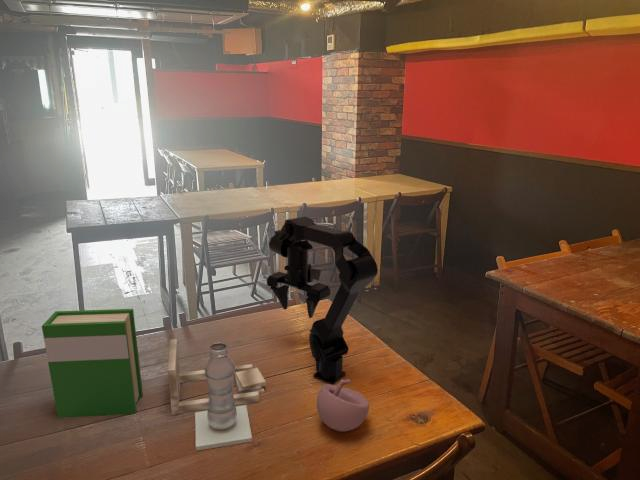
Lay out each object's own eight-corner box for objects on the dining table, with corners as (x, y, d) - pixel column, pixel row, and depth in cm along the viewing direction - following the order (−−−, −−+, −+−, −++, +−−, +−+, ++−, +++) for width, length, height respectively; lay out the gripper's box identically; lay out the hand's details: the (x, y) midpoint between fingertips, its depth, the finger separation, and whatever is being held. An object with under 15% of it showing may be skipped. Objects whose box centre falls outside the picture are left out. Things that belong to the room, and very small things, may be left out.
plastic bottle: (214, 413, 115) (209, 337, 109) (241, 417, 114) (238, 341, 108) (202, 431, 109) (197, 352, 103) (231, 436, 108) (227, 356, 102)
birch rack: (252, 369, 135) (250, 330, 132) (259, 402, 121) (257, 359, 118) (174, 379, 130) (170, 339, 127) (171, 414, 116) (167, 370, 113)
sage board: (246, 408, 119) (246, 405, 119) (252, 441, 108) (251, 437, 108) (195, 415, 116) (195, 412, 116) (196, 450, 105) (195, 446, 105)
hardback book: (143, 395, 124) (133, 308, 116) (135, 413, 117) (124, 322, 109) (70, 398, 122) (55, 311, 115) (58, 418, 115) (41, 326, 108)
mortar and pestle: (378, 425, 113) (381, 383, 110) (343, 451, 105) (344, 405, 102) (341, 402, 121) (342, 362, 118) (305, 424, 113) (305, 381, 110)
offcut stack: (261, 376, 133) (260, 366, 132) (266, 393, 126) (266, 383, 125) (235, 380, 131) (234, 370, 130) (239, 397, 124) (238, 387, 123)
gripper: (341, 261, 136) (340, 312, 141) (289, 248, 147) (290, 296, 151) (318, 272, 128) (317, 326, 132) (264, 258, 138) (266, 308, 143)
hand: (297, 313), depth 140 cm, fingers open, 9 cm apart
